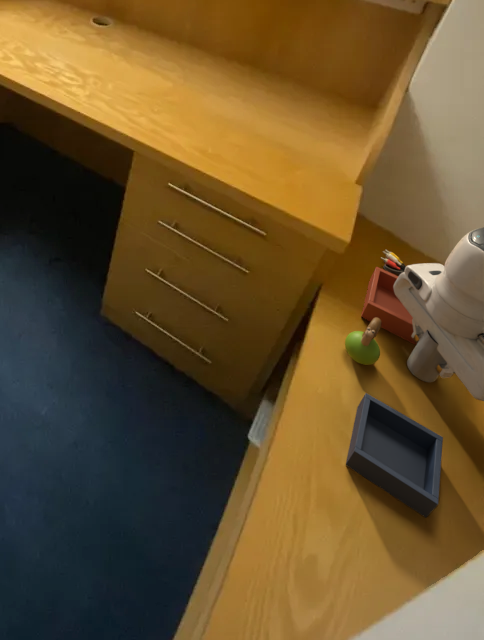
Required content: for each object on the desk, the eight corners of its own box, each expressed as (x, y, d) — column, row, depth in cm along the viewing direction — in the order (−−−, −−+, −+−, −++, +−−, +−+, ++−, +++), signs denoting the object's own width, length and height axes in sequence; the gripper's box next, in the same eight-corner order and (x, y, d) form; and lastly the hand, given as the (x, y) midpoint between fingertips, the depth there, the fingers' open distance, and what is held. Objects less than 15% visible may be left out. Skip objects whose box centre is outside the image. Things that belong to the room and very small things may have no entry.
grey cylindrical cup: (436, 366, 93) (458, 332, 88) (436, 388, 89) (459, 354, 84) (407, 352, 95) (427, 318, 90) (406, 373, 92) (426, 339, 87)
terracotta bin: (369, 280, 108) (376, 266, 106) (429, 308, 103) (437, 294, 100) (360, 317, 101) (368, 302, 99) (424, 349, 96) (433, 335, 93)
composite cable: (433, 281, 108) (438, 274, 107) (427, 295, 105) (431, 287, 104) (382, 253, 114) (385, 246, 113) (374, 265, 112) (378, 258, 110)
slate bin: (357, 406, 87) (365, 392, 85) (431, 451, 81) (443, 437, 79) (345, 465, 80) (354, 451, 78) (426, 518, 74) (438, 504, 72)
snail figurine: (334, 358, 94) (354, 319, 88) (347, 336, 98) (367, 297, 92) (366, 381, 91) (388, 342, 85) (378, 357, 94) (401, 318, 88)
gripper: (537, 371, 74) (496, 419, 81) (433, 255, 92) (406, 303, 99) (496, 374, 74) (459, 423, 81) (399, 258, 92) (375, 305, 99)
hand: (429, 356), depth 90 cm, fingers closed on grey cylindrical cup, 4 cm apart
